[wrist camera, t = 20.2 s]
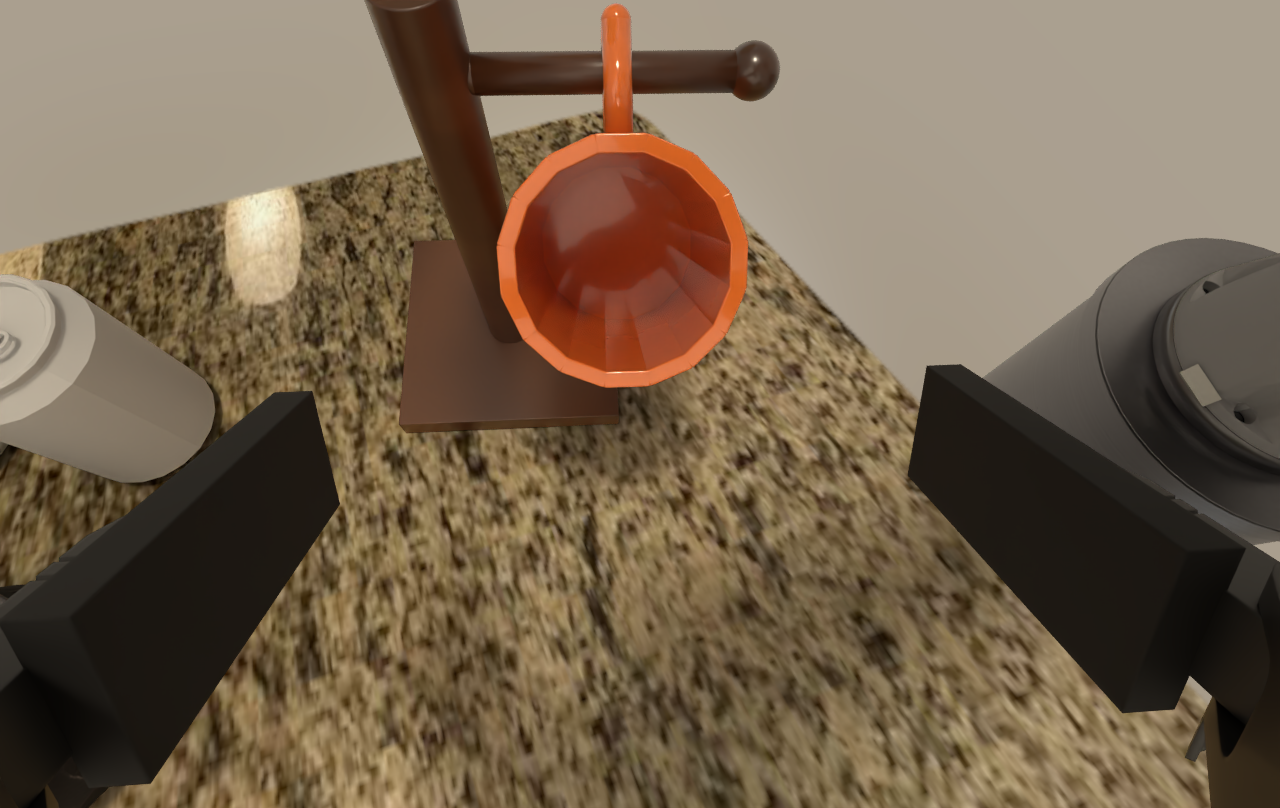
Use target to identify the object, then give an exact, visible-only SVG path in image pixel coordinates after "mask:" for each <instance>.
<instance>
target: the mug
mask: <svg viewBox="0 0 1280 808" xmlns="http://www.w3.org/2000/svg"><path fill="white" fill-rule="evenodd" d="M601 51H602V68H603V94H602V98H603V100H602V101H603V131H604V133H596V134H595V135H594V134H592V135H590V136H588V137H585V138H583V139H581V140H579V141H577V142H575V143H573V144H570V145H568V146H566V147H564V148H562V149H560V150H558V151H556V152H553V153H551V154H549V155H548V157H545V158H544V159H543V160H542V162H541V163H540V164H539V165H538V166H537V167H536V169H535V170H534V171H533V172H532V173H531V174H530V175H529V177H528V178H527V179H526V180H525V181H524V182H523V184H522V185H521V186H520V187H519V188H518V189H517V190H516V192H515V193H514V194H513V197H512V198H511V201H510V204H509V207H508V210H507V213H506V216H505V220H504V223H503V226H502V229H501V232H500V235H499V238H498V242H497V259H498V271H499V282H500V294H501V298H502V300H503V301H504V303H505V305H506V307H507V309H508V311H509V313H510V315H511V317H512V319H513V321H514V323H515V325H516V327H517V329H518V331H519V333H520V335H521V337H522V339H523V340H524V341H525V342H526V343H527V344H528V345H529V346H530V347H532V348H533V349H534V350H535V351H536V352H537V353H538V354H540V355H541V356H542V357H543V358H544V359H545V360H546V361H548V362H549V363H550V364H551V365H552V366H553V367H554V368H555V369H557V370H558V371H560V372H561V373H564V374H567V375H570V376H572V377H575V378H578V379H581V380H584V381H586V382H589V383H592V384H595V385H597V386H600V387H605V388H614V387H645V386H650V385H654V384H657V383H659V382H661V381H664V380H666V379H668V378H670V377H673V376H675V375H677V374H680V373H682V372H684V371H687V370H689V369H691V368H692V367H694V366H695V365H696V364H697V363H698V362H699V361H700V360H701V359H702V358H703V357H704V356H705V355H706V354H707V353H708V352H709V351H710V350H711V349H712V348H713V347H714V346H715V345H716V344H718V343H719V342H720V341H721V340H722V339H723V338H724V337H725V335H726V333H727V332H728V330H729V328H730V326H731V324H732V321H733V319H734V317H735V314H736V312H737V310H738V308H739V305H740V303H741V301H742V298H743V296H744V294H745V292H746V290H745V289H746V288H747V262H748V240H747V235H746V232H745V230H744V227H743V224H742V221H741V219H740V216H739V213H738V210H737V208H736V205H735V202H734V200H733V197H732V194H731V193H729V192H730V191H729V189H728V188H727V187H726V186H725V185H724V184H723V183H722V182H721V181H720V180H719V178H718V177H717V176H716V175H715V174H714V173H713V172H712V171H711V170H710V169H709V168H708V167H707V166H706V165H705V163H704V162H703V161H702V160H701V159H700V158H699V157H698V156H697V155H694V153H693V152H690V151H688V150H686V149H684V148H681V147H679V146H677V145H675V144H672V143H670V142H668V141H665V140H663V139H661V138H658V137H656V136H654V135H652V134H647V133H633V90H632V39H631V16H630V14H629V11H628V10H627V9H626V8H625V7H624V6H623V5H621V4H617V3H614V4H611V5H609V6H607V7H606V8H605V10H604V11H603V13H602V16H601Z"/></svg>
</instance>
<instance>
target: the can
mask: <svg viewBox="0 0 1280 808" xmlns="http://www.w3.org/2000/svg"><path fill="white" fill-rule="evenodd" d="M214 414H215V405H214V398H213V393H212V391H211V390H210V388H209V386H208V384H207V383H206V381H205V379H203V378H202V377H200V376H199V375H198V374H196V373H195V372H194V371H192V370H191V369H190V368H188V367H187V366H185V365H184V364H182V363H181V362H179V361H178V360H176V359H175V358H173V357H172V356H170V355H169V354H167V353H166V352H164V351H163V350H161V349H160V348H158V347H157V346H155V345H154V344H153V343H151V342H150V341H148V340H147V339H145V338H144V337H142V336H141V335H139V334H138V333H136V332H135V331H133V330H132V329H130V328H129V327H127V326H126V325H124V324H123V323H121V322H120V321H118V320H117V319H115V318H114V317H112V316H111V315H109V314H108V313H107V312H105V311H104V310H102V309H101V308H99V307H98V306H96V305H95V304H93V303H92V302H90V301H89V300H87V299H86V298H84V297H83V296H81V295H80V294H78V293H77V292H75V291H74V290H72V289H71V288H69V287H68V286H64V285H61V284H58V283H54V282H51V281H47V280H30V279H27V278H24V277H20V276H17V275H13V274H0V441H1V442H4V443H6V444H9V445H12V446H15V447H18V448H21V449H24V450H27V451H30V452H32V453H35V454H38V455H41V456H44V457H47V458H50V459H53V460H56V461H58V462H61V463H64V464H67V465H70V466H73V467H76V468H79V469H81V470H84V471H87V472H90V473H93V474H96V475H99V476H102V477H105V478H108V479H111V480H114V481H118V482H121V483H128V482H145V481H148V480H152V479H155V478H158V477H162V476H165V475H166V474H168V473H170V472H171V471H173V470H175V469H176V468H178V467H180V466H181V465H183V464H185V463H186V462H187V461H188V460H189V459H190V458H191V457H192V456H193V455H194V454H195V453H196V452H197V451H198V450H199V449H200V448H201V446H202V444H203V443H204V441H205V439H206V437H207V436H208V434H209V432H210V430H211V428H212V423H213V419H214Z"/></svg>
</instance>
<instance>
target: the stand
mask: <svg viewBox="0 0 1280 808" xmlns="http://www.w3.org/2000/svg"><path fill="white" fill-rule="evenodd" d="M365 3H366V6H367V8H368V11H369V14H370V16H371V19H372V21H373V24H374V27H375V29H376V32H377V35H378V37H379V40H380V42H381V45H382V48H383V50H384V53H385V56H386V58H387V61H388V64H389V66H390V68H391V71H392V74H393V77H394V79H395V82H396V85H397V87H398V90H399V93H400V95H401V97H402V100H403V103H404V106H405V108H406V111H407V113H408V116H409V119H410V121H411V124H412V127H413V129H414V132H415V134H416V137H417V140H418V142H419V145H420V147H421V150H422V153H423V156H424V158H425V161H426V164H427V166H428V169H429V171H430V174H431V177H432V179H433V182H434V185H435V187H436V190H437V192H438V195H439V198H440V200H441V203H442V206H443V208H444V211H445V213H446V216H447V219H448V221H449V224H450V227H451V229H452V232H453V235H454V237H455V240H439V241H414V252H413V264H412V276H411V288H410V299H409V311H408V323H407V335H406V347H405V358H404V370H403V382H402V394H401V405H400V417H399V425H400V426H401V427H402V429H403V430H404V431H405V432H406V433H414V432H437V431H460V430H484V429H507V428H530V427H554V426H577V425H600V424H618V423H619V407H618V387H614V388H605V387H600V386H597V385H595V384H592V383H589V382H586V381H584V380H581V379H578V378H575V377H572V376H570V375H567V374H564V373H561V372H560V371H558V370H557V369H555V368H554V367H553V366H552V365H551V364H550V363H549V362H548V361H546V360H545V359H544V358H543V357H542V356H541V355H540V354H538V353H537V352H536V351H535V350H534V349H533V348H532V347H530V346H529V345H528V344H527V343H526V342H525V341H524V340H523V339H522V337H521V335H520V333H519V331H518V329H517V327H516V325H515V323H514V321H513V319H512V317H511V315H510V313H509V311H508V309H507V307H506V305H505V303H504V301H503V300H502V298H501V294H500V282H499V271H498V259H497V242H498V238H499V235H500V232H501V229H502V226H503V223H504V220H505V216H506V213H507V207H506V203H505V198H504V194H503V190H502V186H501V182H500V177H499V173H498V169H497V165H496V161H495V156H494V152H493V148H492V144H491V140H490V135H489V131H488V127H487V123H486V119H485V114H484V110H483V106H482V102H481V98H480V96H494V95H497V96H498V95H572V94H573V95H578V94H579V95H580V94H581V95H582V94H603V68H602V51H563V52H562V51H560V52H559V51H556V52H555V51H554V52H469V47H468V43H467V39H466V35H465V31H464V26H463V22H462V18H461V14H460V9H459V6H458V1H457V0H365ZM779 72H780V66H779V60H778V57H777V55H776V53H775V51H774V50H773V49H772V47H770V46H769V45H768V44H766V43H764V42H762V41H756V40H755V41H748V42H745V43H743V44H741V45H739V46H738V47H737V48H736V49H735V50H687V51H686V50H684V51H683V50H682V51H681V50H680V51H632V90H633V94H655V93H656V94H664V93H733V94H734V95H735V96H736V97H737V98H739V99H741V100H744V101H756V100H759V99H762V98H764V97H765V96H767V95H768V94H769V93H770V92H771V91H772V90H773V88H774V87H775V85H776V83H777V80H778V77H779Z"/></svg>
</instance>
